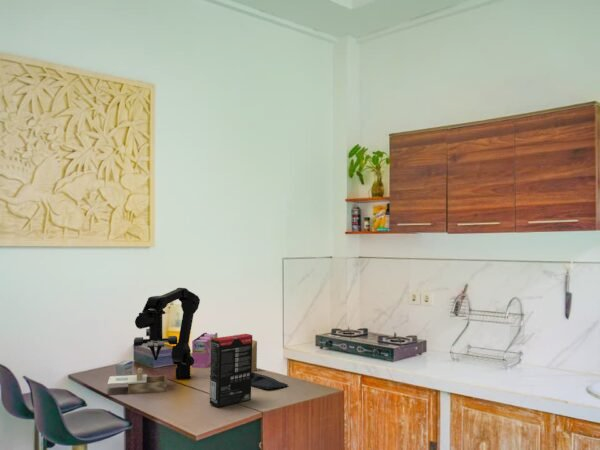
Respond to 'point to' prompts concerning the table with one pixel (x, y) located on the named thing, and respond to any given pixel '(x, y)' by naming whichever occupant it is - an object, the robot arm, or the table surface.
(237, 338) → the graphics card box
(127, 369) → the medicine box
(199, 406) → the table surface
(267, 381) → the dark slate chunk
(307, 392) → the table surface
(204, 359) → the gum box
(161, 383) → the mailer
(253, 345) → the sandwich container
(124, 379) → the lid
